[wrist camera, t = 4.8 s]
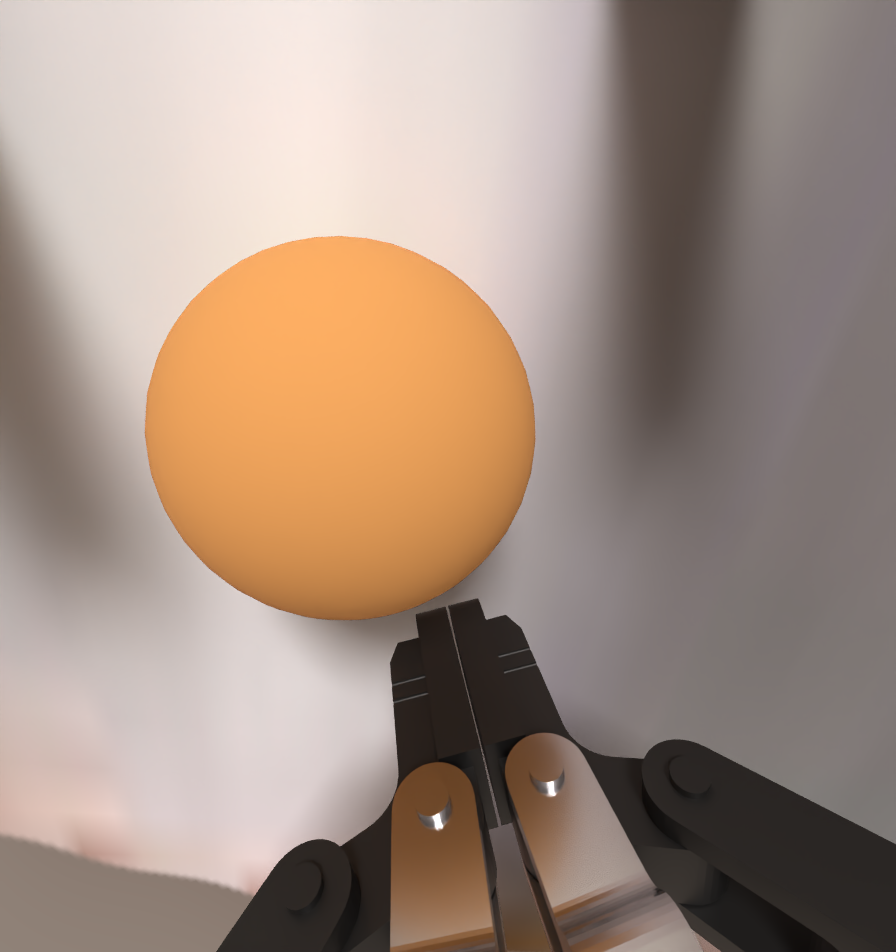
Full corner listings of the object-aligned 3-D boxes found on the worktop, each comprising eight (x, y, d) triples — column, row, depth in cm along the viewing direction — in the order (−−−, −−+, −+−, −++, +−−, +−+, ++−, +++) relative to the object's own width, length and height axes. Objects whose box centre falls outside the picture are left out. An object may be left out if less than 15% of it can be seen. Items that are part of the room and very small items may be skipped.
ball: (289, 707, 8) (278, 464, 12) (600, 600, 8) (497, 381, 11) (-65, 589, 4) (79, 250, 7) (604, 337, 4) (431, 105, 7)
